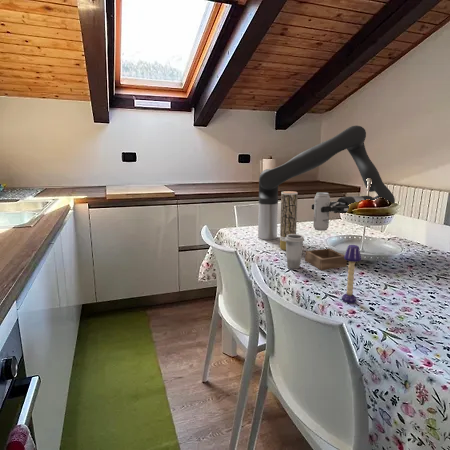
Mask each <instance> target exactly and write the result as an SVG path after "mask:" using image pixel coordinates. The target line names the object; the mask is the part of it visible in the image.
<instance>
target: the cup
mask: <svg viewBox="0 0 450 450" xmlns="http://www.w3.org/2000/svg"><path fill="white" fill-rule="evenodd" d="M285 240H286V250H285V251H286V253H285V254H286V264H287V265H286V266H287V268H289V269H293V270H294V269H296V270H298V269H300V267H301V261H302V260H301V259H302V257H303V256H302V255H303V248H304V242H305V238H304V236H303V235H302V234H298V233H296V234H289V235H287V236H286V238H285Z"/></svg>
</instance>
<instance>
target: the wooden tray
mask: <svg viewBox="0 0 450 450" xmlns="http://www.w3.org/2000/svg"><path fill="white" fill-rule="evenodd" d="M304 252H305V253H304V255H305V256H304V261H305V262H306V263H308V264H310V265H311V266H313V267H315V268H317V269H318V270H320V271H325V270H332V269H339V268H346V267H347V260H345V259H344V256H345V254H342V253H340V252H338V251H336V250H333V249H332V248H330V247H328V248H322V249H319V248H318V249H313V250H306V251H304Z"/></svg>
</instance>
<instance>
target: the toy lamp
mask: <svg viewBox="0 0 450 450" xmlns="http://www.w3.org/2000/svg"><path fill="white" fill-rule="evenodd" d="M344 255H345V256H344V259H345V260H347V261H348V265H347V266H348V271H347V280H346V281H347V285H346V293H344V294H342V296H341V301H342V300H343V301H342V302H344V303H346V302H348V303H347V304H355V303H356V302H358V301H357V297H356V296H355V295H354V294H353V293H354V291H353V290H354V283H355V282H354V279H355V269H356V266H355V264H356V263H357V262H360V261H362V254H361V251H360V247H359V246H358V245H357V244H356V245H355V244H349V245H348V246H347V248H346V251H345V254H344Z"/></svg>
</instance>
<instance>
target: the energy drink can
mask: <svg viewBox="0 0 450 450" xmlns="http://www.w3.org/2000/svg"><path fill="white" fill-rule="evenodd" d="M313 201H314V203H313V204H314V210H313V223H312V224H313V225H312V226H313V228H314V230H315V231H318V232H322V231H324V232H325V231H327V230H328V228H330V227H329V225H330V222H329V221H330V212H323V213H322V212H321V207H325V206H330V202H331V196H330V193H329V192H321V191H320V192H319V191H317V192H316V194H315V196H314V200H313Z"/></svg>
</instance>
